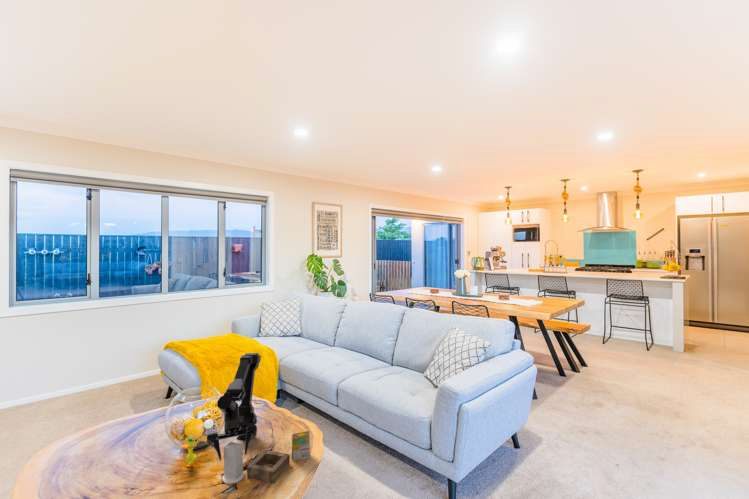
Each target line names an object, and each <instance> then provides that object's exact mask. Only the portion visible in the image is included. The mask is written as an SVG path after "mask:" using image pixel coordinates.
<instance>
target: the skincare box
mask: <svg viewBox="0 0 749 499" xmlns="http://www.w3.org/2000/svg"><path fill="white" fill-rule="evenodd" d="M243 448H244V447H243V443H237V442H233V441H230V442H228V443H227V444H226V445H224V446H223V476H224V477H227V478H231V479H235V480H236V479H238V478H239V477H240V476H241V475H242V474H243V471H244V463H243V462H244V458H243V457H244V456H243V452H244V451H243Z"/></svg>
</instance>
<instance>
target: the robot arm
mask: <svg viewBox="0 0 749 499" xmlns="http://www.w3.org/2000/svg"><path fill="white" fill-rule="evenodd" d="M261 359H262V357H261V355H260V354H259V352H245V353H244V355H243V354H242V355H240V358H239V364H238V368H237V369H236V373H235V376H234V378H233V381H232V382H231V383H229V384H228V386H227V389H226V390H225V391H224V393H223V394H222V395H221V396H220V397H219V398H218V400H217V401H216V402H217V403H216V406H217V408H218V409H219V410H220V411H221V412H222V413H223V414H224V415H223V418H224V420H223V423H224V426H223V427H224V433H220V434H218V431H215V432H209V433H208V434H207V435H206V446H210V447H211V448H214V450H215V452H216V454H217V456H218V459H219V462H221V461H222V454H221V448H220V447H221V446H220V440H225V439H229V438H234V437H236V439H237V440H240V441H245V446H244V455H245V456H246V455H247V454H248V449H249V444H250V442H251V439H254V436H255V437H256V436H257V434H258V426H257V423H258V421H257V420H258V416H257V415H256V412H255V408H254V406H253V403H252V401H253V392H254V391H253V390H254V382H255V381H254V380H255V375H256V374H255V373H256V371H257V369H258V368H259V367H260V363H261V361H262V360H261ZM237 402H241V403H240V404H239V403H237Z"/></svg>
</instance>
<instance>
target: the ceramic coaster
mask: <svg viewBox="0 0 749 499" xmlns="http://www.w3.org/2000/svg"><path fill="white" fill-rule="evenodd" d="M244 477H245V472H244V470H243V474H242V475H241V476H240V477H239V478H238V479H236V480H235V479H231V478H227V477H224V475H222V482H223V483H224V484H226V485H233V483H234V484H236V483H239V482H240V481H241V480H243V479H244Z"/></svg>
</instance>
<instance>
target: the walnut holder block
mask: <svg viewBox="0 0 749 499" xmlns="http://www.w3.org/2000/svg"><path fill="white" fill-rule="evenodd" d="M290 457H291V456H290V454H289V453H284V452H279V451H273V450H267V449H263V450H262V452H260V453H259V454H258V455H257V456H256V458H254V459H253V460H252V461H251V462H250V463H249V464H248V465H247V466H246V478H247V479H248V480H249V479H250V480H255V481H260V482H265V483H269V484H275V483H276V482H277V481H278V479H279V478H280V477H282V475H283V474H284V473H285V471H286V470H287V469H288V468H289V467H290V466H291V464H290V462H291V460H290V459H291V458H290ZM266 465H270V466H272V467H268V466H266Z"/></svg>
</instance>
